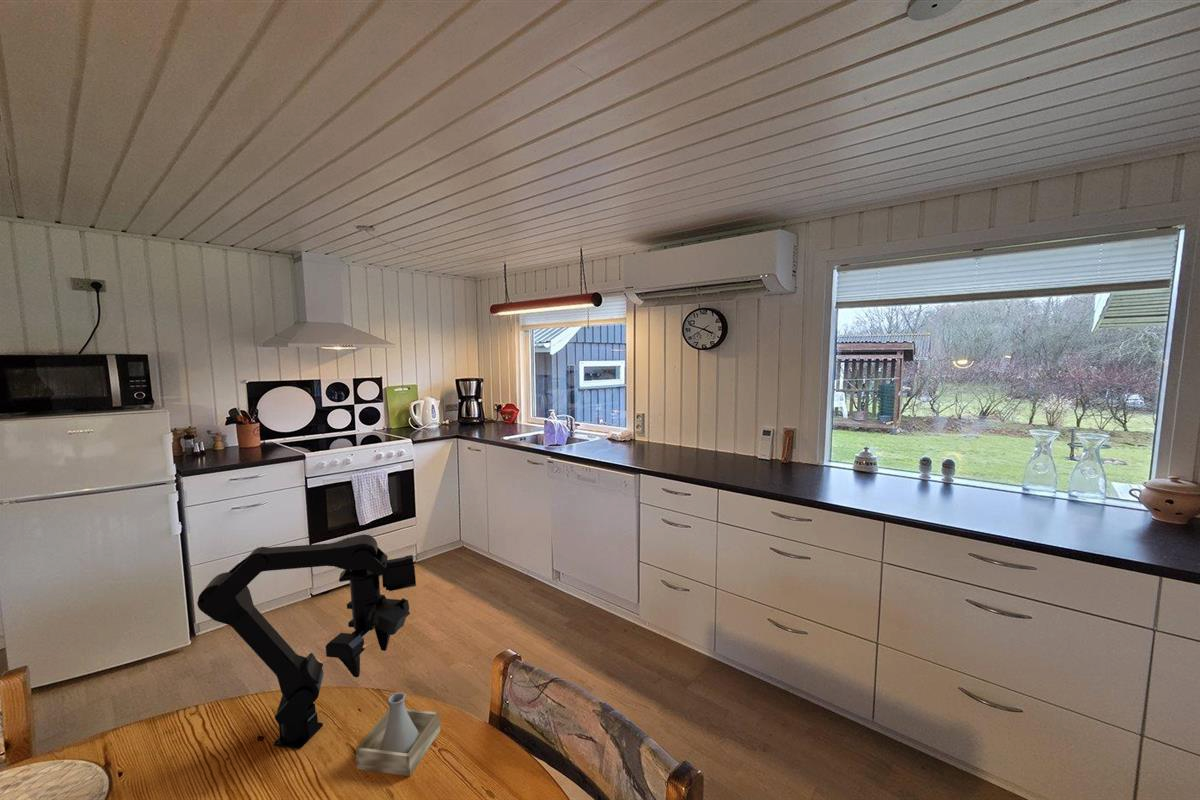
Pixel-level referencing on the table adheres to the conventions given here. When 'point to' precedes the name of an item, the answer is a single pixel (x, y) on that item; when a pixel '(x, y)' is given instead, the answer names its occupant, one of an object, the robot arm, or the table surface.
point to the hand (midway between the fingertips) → (370, 663)
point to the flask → (399, 727)
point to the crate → (394, 761)
